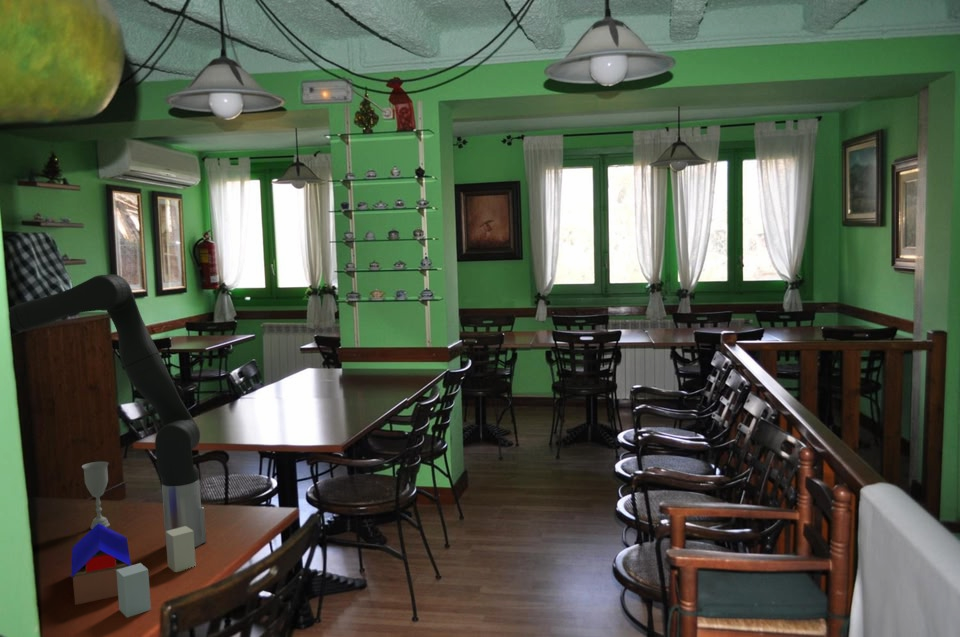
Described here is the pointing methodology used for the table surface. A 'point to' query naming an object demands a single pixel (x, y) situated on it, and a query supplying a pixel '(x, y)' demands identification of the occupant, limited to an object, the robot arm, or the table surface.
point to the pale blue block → (133, 590)
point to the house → (98, 564)
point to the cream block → (180, 548)
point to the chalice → (96, 486)
